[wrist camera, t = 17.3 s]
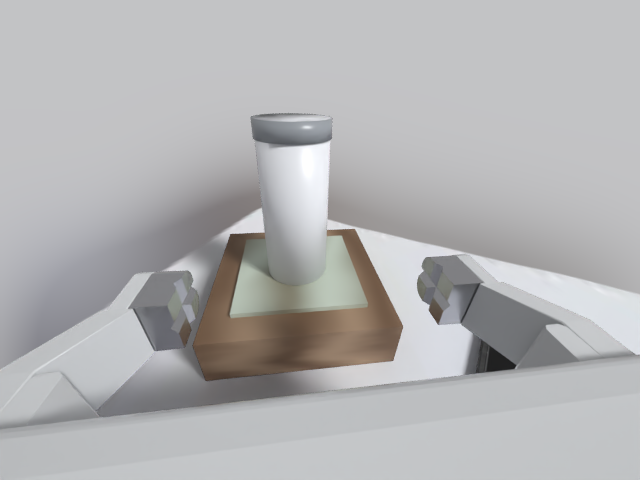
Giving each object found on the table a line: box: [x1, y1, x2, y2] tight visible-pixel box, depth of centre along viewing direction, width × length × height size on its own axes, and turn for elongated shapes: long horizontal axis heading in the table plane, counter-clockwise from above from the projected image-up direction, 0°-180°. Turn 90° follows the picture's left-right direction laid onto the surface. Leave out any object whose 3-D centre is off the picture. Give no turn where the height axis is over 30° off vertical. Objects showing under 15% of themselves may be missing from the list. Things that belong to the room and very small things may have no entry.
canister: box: [251, 113, 332, 285], centre depth 19 cm, size 5×5×12 cm
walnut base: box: [193, 229, 403, 381], centre depth 24 cm, size 14×14×4 cm
